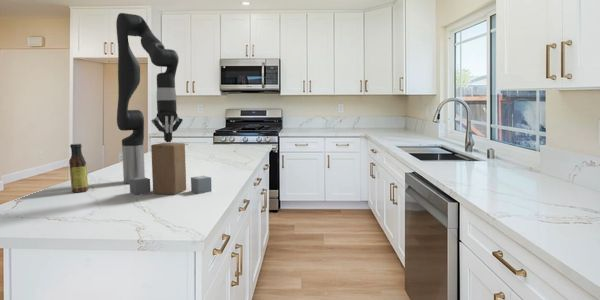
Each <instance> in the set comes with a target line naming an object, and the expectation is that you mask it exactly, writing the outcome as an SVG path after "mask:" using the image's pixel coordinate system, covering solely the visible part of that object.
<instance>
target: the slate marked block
mask: <svg viewBox="0 0 600 300" xmlns="http://www.w3.org/2000/svg"><path fill="white" fill-rule="evenodd" d="M190 188H191V189H190V191H191V192H192V193H196V194H204V193H210V192H211V193H212V177H211V176H206V175H198V176H192V177H190Z"/></svg>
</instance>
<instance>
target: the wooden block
mask: <svg viewBox="0 0 600 300" xmlns="http://www.w3.org/2000/svg"><path fill="white" fill-rule="evenodd" d="M150 147H151V148H150V150H151V154H150V155H151V170H152V171H151V172H152V173H151V174H152V175H151V176H152V193H153V194H154V195H171V196H172V195H174V196H175V195H177V194H180V193H182V192H184V191H186V190H187V171H186V170H187V169H186V168H187V167H186V166H187V165H186V144H185V142H159V143H156V144H151V145H150Z"/></svg>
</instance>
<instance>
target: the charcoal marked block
mask: <svg viewBox="0 0 600 300" xmlns="http://www.w3.org/2000/svg"><path fill="white" fill-rule="evenodd" d="M129 193H130V194H131V193H132V194H131V195H133V194H135V195H134V196H141V195H140V194H143V195H149V194H148V193H150V194H151V178H148V177H146V176H145V177H141V178H133V179H130V183H129Z"/></svg>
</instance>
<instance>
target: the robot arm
mask: <svg viewBox="0 0 600 300" xmlns="http://www.w3.org/2000/svg"><path fill="white" fill-rule="evenodd" d="M115 25H116V38H117V39H116V40H117V56H118V57H117V58H118V60H117V83H118V84H117V87H118V88H117V89H118V90H117V91H118V95H117V96H118V97H117V98H118V99H117V110H116V124H117V125H116V126H117V127H118V129H119V131H125V132H126V131H132V133H131V134H130V135H129V136H125V137H124V138H123V139H121V145H122V146H121V147H122V148H121V151H122V154H121V155H122V170H123V171H122V173H123V183H125V184H130V179H133V178H141V177H145V178H146V173H145V172H146V171H145V153H144V152H145V148H144V138H145V119H144V118H145V117H144V114H143V112H142V111H141V110H139V109H130V110H129V103H130V100H131V98H132V96H133V94H134V93H135V91H136V90H137V89H138V87H139V85H140V82H141V66H140V64H139V61H138V60H137V58H136V56H135V55H134V53H133V51H132V49H131V47H130V43H129V36H130V37H140V45H141V47H142V49H143V50H144V51H145V52H146V53H147V54H148V55H149V58H150V61H151V64H153V65H154V66H155V67H162V68H166V69H165V71H163V72H160V73H157V74H156V109H157V110H156V111H157V113H156V117H155V118H154V119H151V123H152V124H153V125H154V126H155V127H156V129H157V130H158V131H159V132H160V133H161V132H162V133H163V140H164V141H165V143H172V141H173V133H174V132H176V131H178V128H179V127H180V126H181V124H182V123H183V120H184V119H183V118H180V117H179V116H178V113H177V94H176V73H177V68H178V65H179V54H178V52H177V51H176V50H174V49H171V48H170V49H169V48H165V45H164V44H163V42H162V41H160V40H159V38H158V37H156V36H155V35H154V33H153V31H152V30H151V28H150V26H149V25H148V24H147V22H146V20H145V19H144V18H143V17H142V16H141V15H139V14H138V15H137V14H132V13H127V12H126V13H125V12H120V13H118V14H117V17H116V22H115ZM160 123H161V124H160Z"/></svg>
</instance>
